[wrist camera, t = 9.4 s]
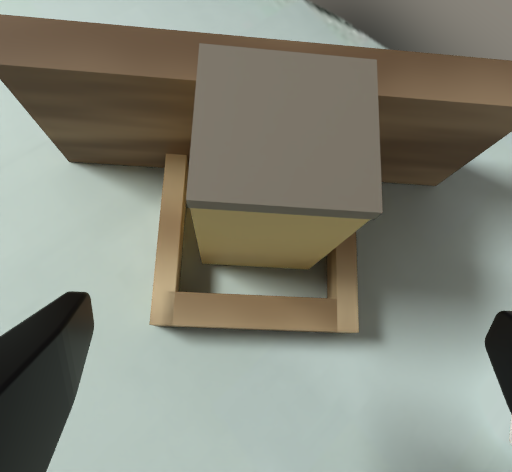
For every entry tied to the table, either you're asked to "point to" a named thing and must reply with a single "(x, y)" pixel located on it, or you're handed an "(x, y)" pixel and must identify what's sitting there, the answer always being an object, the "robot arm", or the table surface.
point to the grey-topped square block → (282, 155)
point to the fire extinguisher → (510, 431)
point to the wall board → (180, 130)
